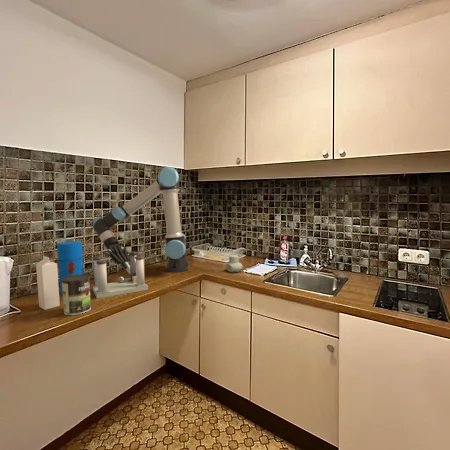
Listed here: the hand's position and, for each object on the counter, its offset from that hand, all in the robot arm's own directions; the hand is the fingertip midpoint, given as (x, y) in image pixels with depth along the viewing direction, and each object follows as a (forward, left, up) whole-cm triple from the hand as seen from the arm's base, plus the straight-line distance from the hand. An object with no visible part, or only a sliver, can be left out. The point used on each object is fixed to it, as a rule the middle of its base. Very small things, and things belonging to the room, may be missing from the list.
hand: (131, 272), depth 158 cm
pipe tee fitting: (-61, +11, -6) cm, 62 cm away
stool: (+8, +9, -6) cm, 14 cm away
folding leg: (+2, +4, -3) cm, 5 cm away
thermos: (+29, 0, -6) cm, 30 cm away
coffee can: (+29, +28, -6) cm, 41 cm away
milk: (+39, +16, -6) cm, 43 cm away
